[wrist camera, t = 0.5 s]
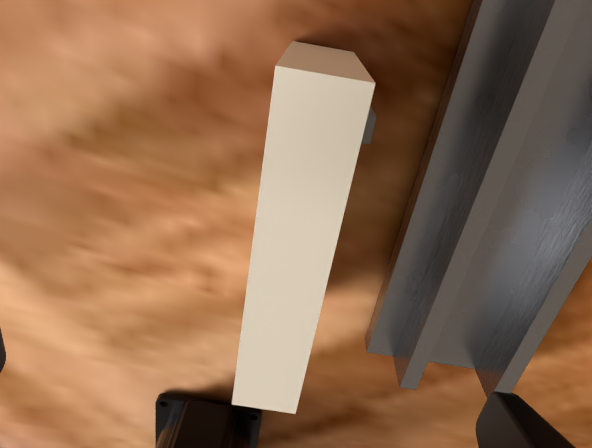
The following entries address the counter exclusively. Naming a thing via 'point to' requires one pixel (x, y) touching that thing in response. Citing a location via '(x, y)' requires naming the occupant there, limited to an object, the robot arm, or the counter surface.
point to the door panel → (299, 216)
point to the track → (496, 199)
